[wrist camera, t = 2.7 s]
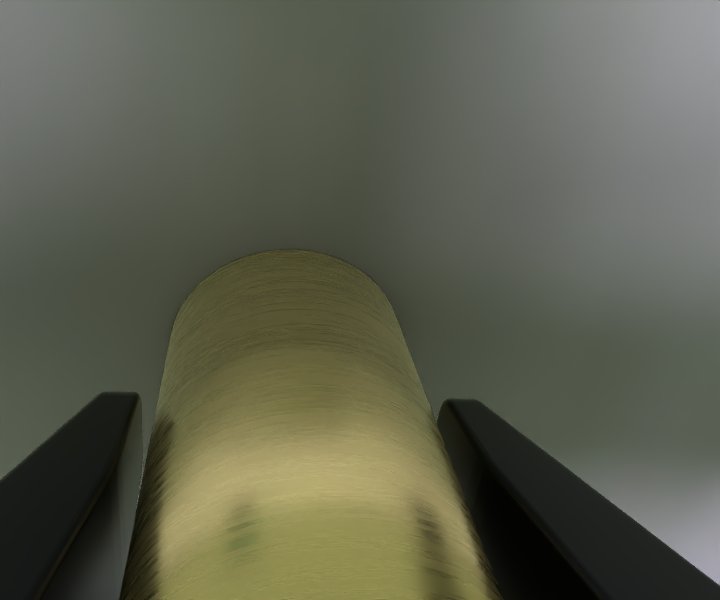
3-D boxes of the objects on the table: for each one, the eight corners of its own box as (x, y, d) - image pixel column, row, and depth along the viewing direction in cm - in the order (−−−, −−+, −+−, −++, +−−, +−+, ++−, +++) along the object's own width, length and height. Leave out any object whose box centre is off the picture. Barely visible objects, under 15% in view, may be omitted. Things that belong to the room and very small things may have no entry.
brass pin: (470, 218, 9) (1004, 910, 2) (412, 470, 11) (627, 1185, 5) (116, 192, 8) (-372, 1142, 2) (128, 471, 10) (-71, 1349, 4)
